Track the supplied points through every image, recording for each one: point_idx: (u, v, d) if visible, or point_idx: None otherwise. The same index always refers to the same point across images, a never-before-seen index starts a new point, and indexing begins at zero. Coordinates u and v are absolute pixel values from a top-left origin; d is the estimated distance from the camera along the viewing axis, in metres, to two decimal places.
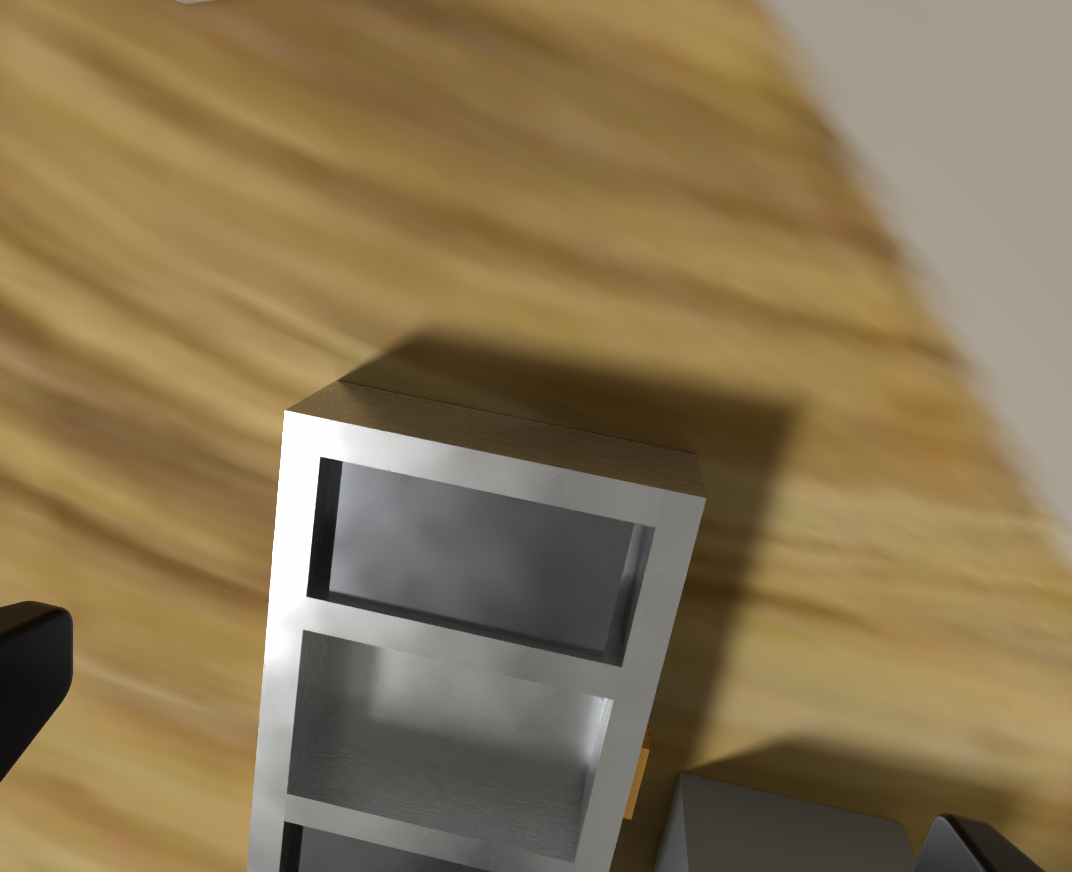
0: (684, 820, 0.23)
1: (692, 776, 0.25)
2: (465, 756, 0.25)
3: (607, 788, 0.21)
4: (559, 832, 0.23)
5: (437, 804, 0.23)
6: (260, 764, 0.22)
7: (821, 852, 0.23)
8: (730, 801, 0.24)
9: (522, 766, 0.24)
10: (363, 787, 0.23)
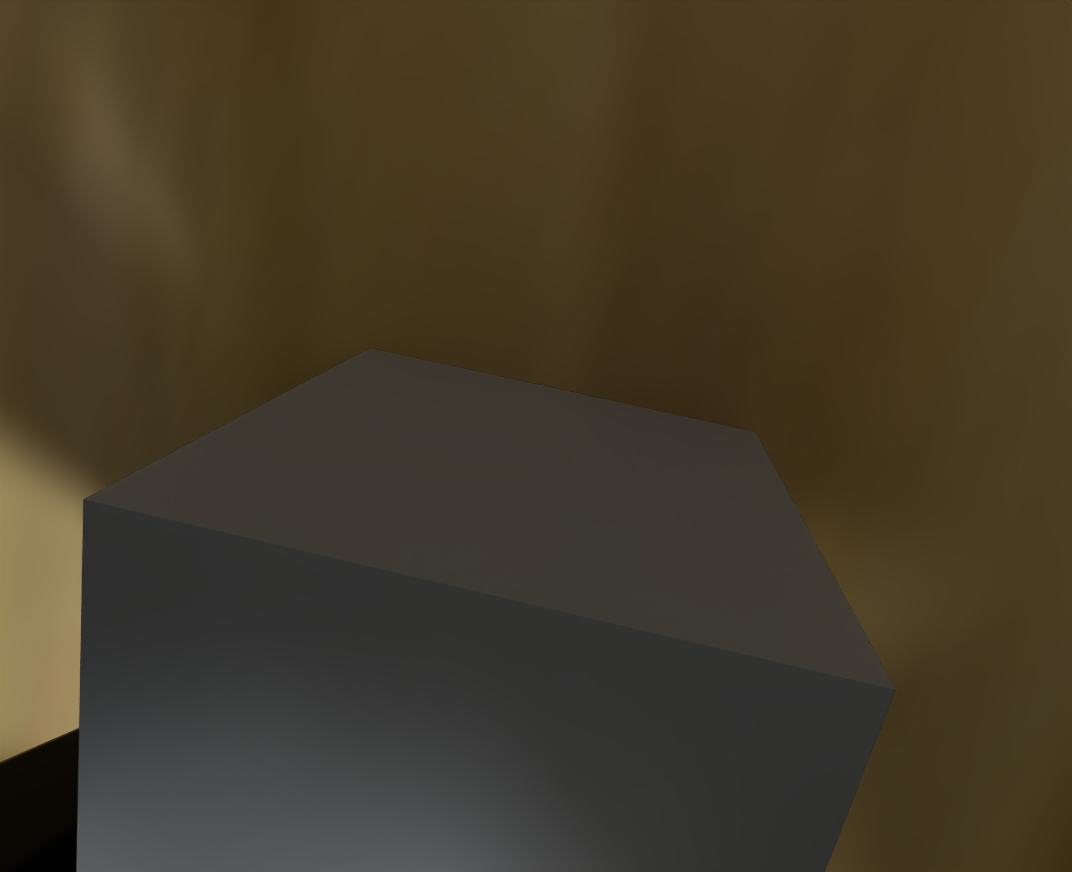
0: None
1: None
2: None
3: None
4: None
5: None
6: None
7: None
8: None
9: None
10: None
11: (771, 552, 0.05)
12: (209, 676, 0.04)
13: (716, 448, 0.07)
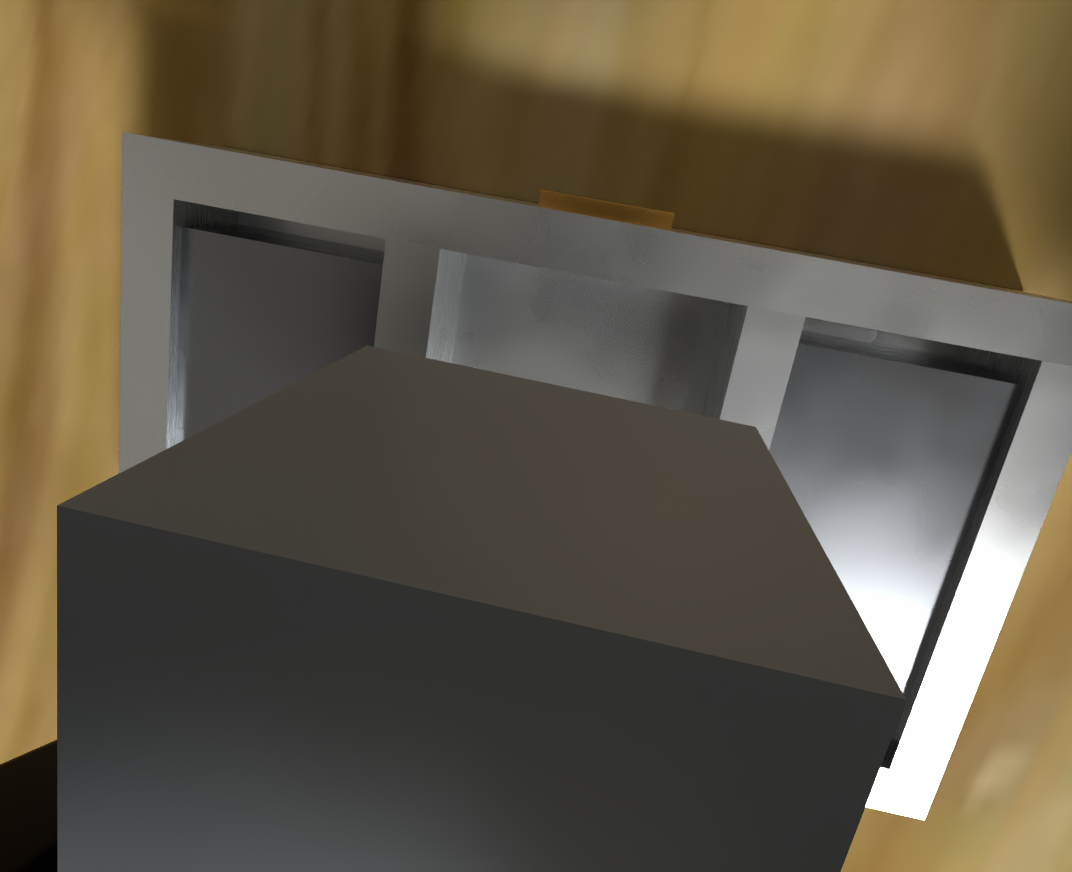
0: None
1: None
2: None
3: (597, 254, 0.14)
4: (733, 327, 0.15)
5: None
6: None
7: None
8: None
9: (675, 377, 0.17)
10: None
11: (776, 554, 0.05)
12: (190, 689, 0.04)
13: (717, 447, 0.07)
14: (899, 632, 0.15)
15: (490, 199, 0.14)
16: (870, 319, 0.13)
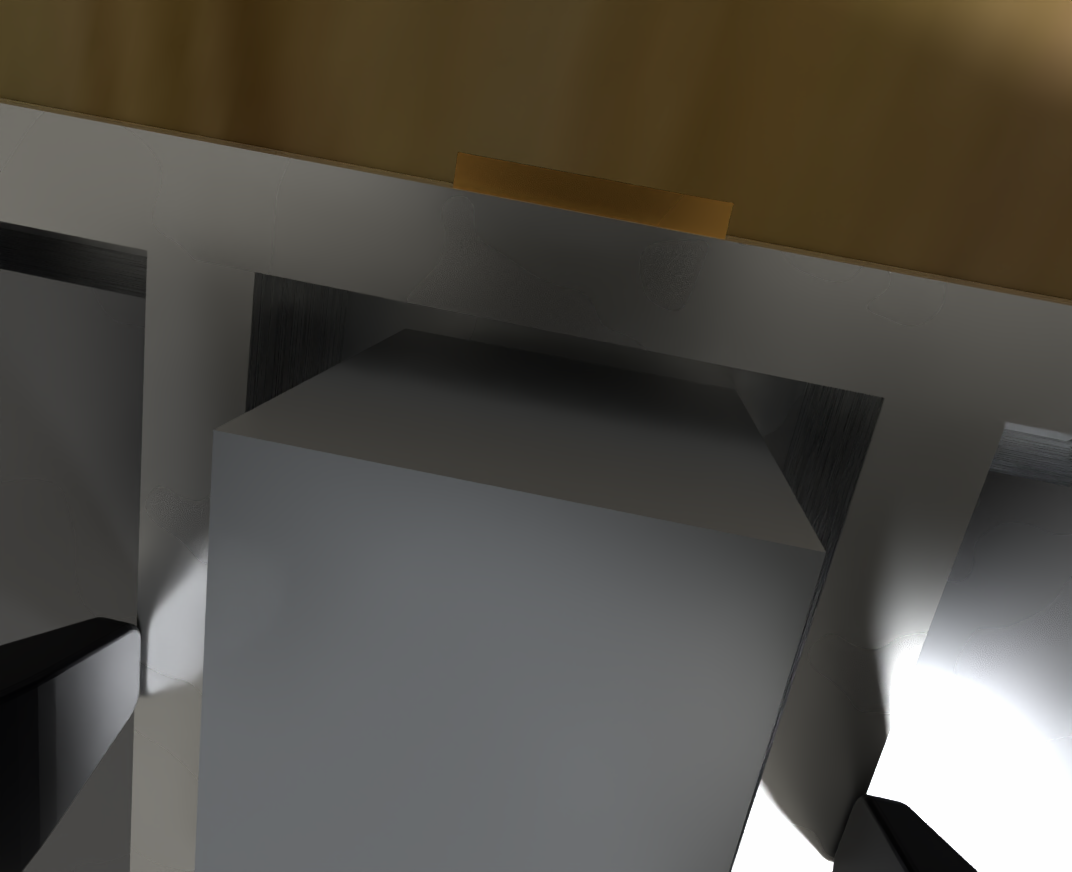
0: None
1: None
2: None
3: (572, 287, 0.07)
4: (837, 425, 0.08)
5: None
6: None
7: None
8: None
9: None
10: None
11: (742, 472, 0.06)
12: (307, 565, 0.05)
13: (702, 404, 0.08)
14: None
15: (350, 171, 0.06)
16: None
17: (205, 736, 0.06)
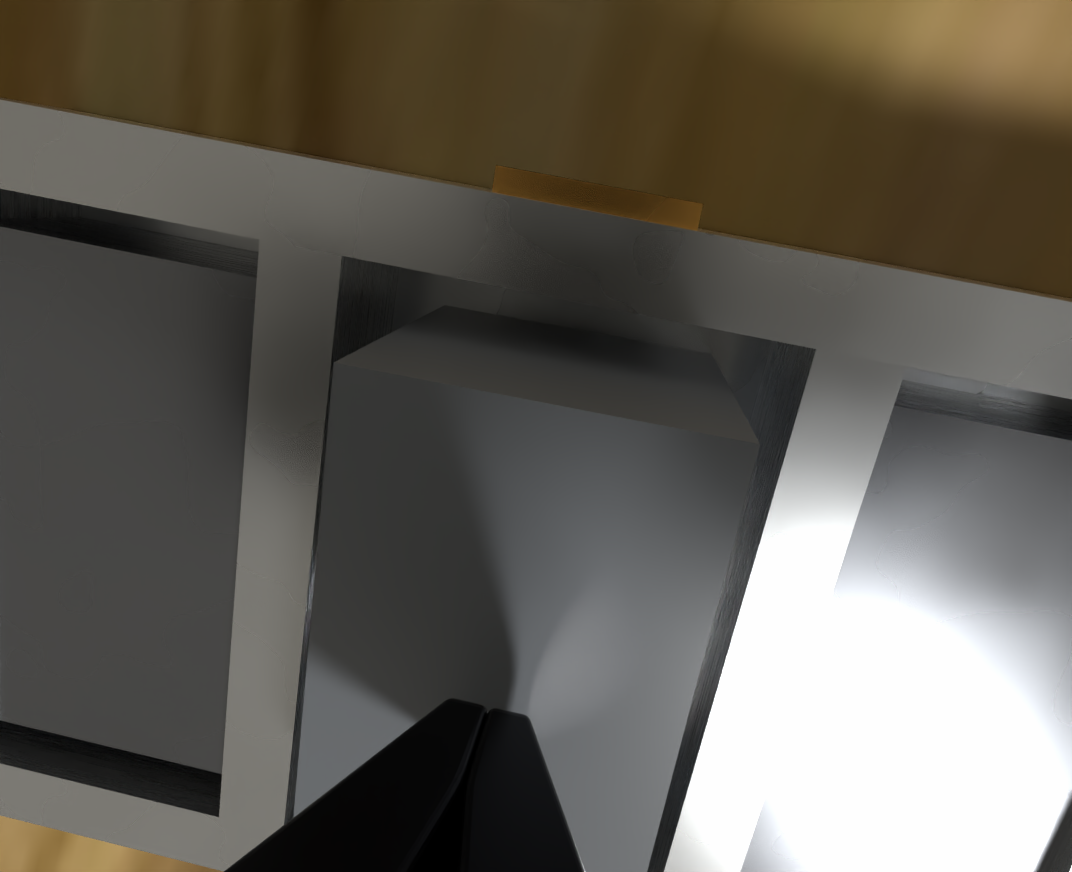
0: None
1: None
2: None
3: (582, 266, 0.09)
4: (787, 375, 0.10)
5: (715, 632, 0.11)
6: None
7: None
8: None
9: None
10: (677, 767, 0.11)
11: (708, 402, 0.08)
12: (397, 460, 0.08)
13: (683, 362, 0.10)
14: (1023, 821, 0.10)
15: (416, 180, 0.09)
16: (1009, 372, 0.08)
17: (315, 593, 0.08)
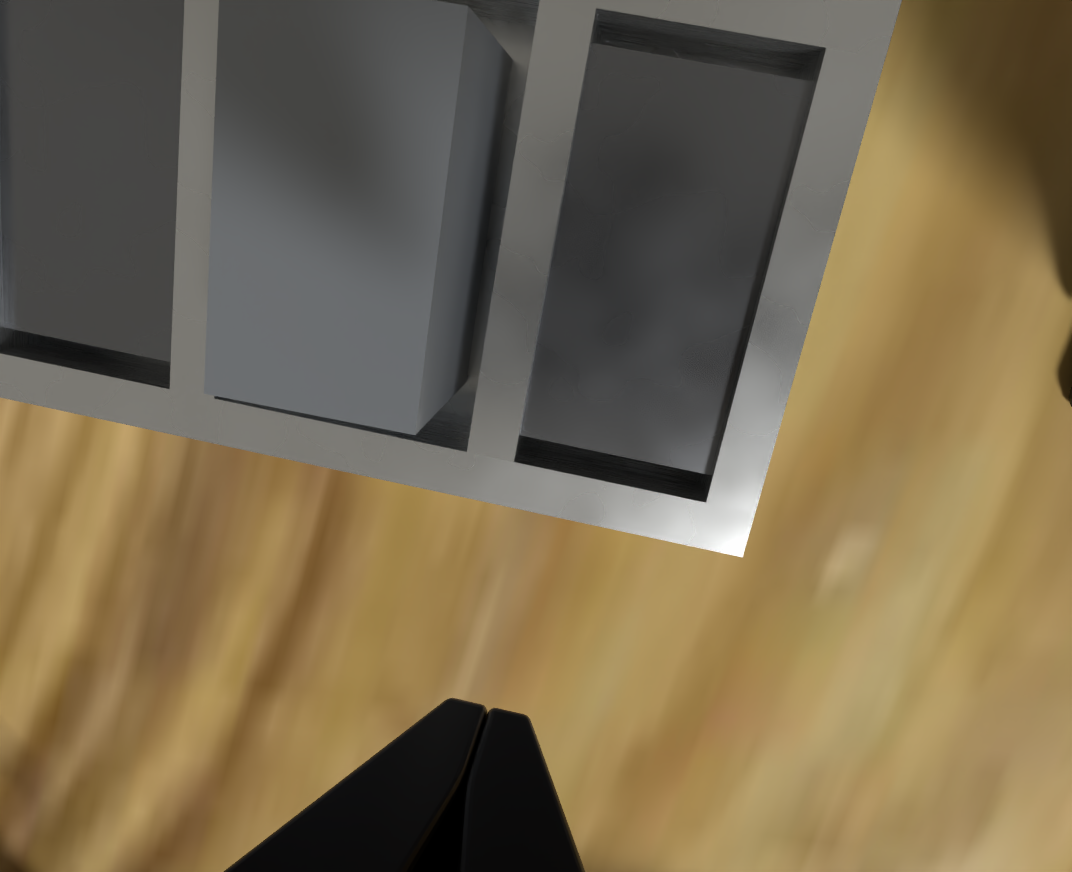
0: None
1: None
2: (496, 212, 0.17)
3: None
4: None
5: None
6: (424, 481, 0.16)
7: None
8: None
9: (504, 124, 0.17)
10: None
11: None
12: (260, 32, 0.12)
13: None
14: (710, 357, 0.15)
15: None
16: (657, 7, 0.13)
17: (216, 135, 0.13)
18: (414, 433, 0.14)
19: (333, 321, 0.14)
